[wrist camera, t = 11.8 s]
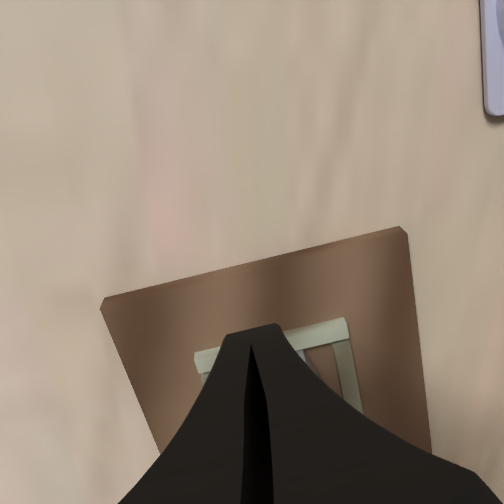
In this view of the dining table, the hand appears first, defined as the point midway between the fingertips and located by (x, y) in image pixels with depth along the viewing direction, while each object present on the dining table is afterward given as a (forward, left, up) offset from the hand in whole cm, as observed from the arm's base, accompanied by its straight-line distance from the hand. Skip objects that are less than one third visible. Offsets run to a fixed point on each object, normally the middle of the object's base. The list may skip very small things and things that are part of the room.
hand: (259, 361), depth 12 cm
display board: (0, +9, -10) cm, 14 cm away
